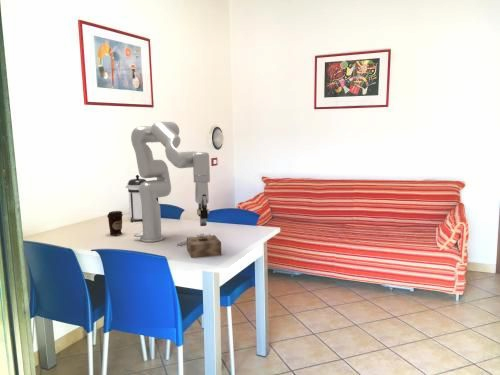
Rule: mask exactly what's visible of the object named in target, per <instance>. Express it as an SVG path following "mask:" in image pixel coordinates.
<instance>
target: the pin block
mask: <svg viewBox="0 0 500 375" xmlns="http://www.w3.org/2000/svg"><path fill="white" fill-rule="evenodd" d="M186 240H187V244H186V250H187V252H188V254H189V256H190V258H193V259H194V258H201V257H202V258H205V257H212V256H213V257H214V256H222V241H221V240H220V239H219V238H218V237H217V236H216V235H215V234H214V235H212V234H211V236H200V237H197V236H189V237H186Z"/></svg>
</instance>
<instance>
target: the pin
mask: <svg viewBox="0 0 500 375" xmlns="http://www.w3.org/2000/svg"><path fill="white" fill-rule="evenodd" d="M200 210H201V209H198V208H197V209H196V215H197V216H198V215H200V216H199V226H200V227H206V226H207V224H208V223H207V221H208V220H207V219H201V213H200ZM207 210H208V215H209V214H210V210H209V208H207Z"/></svg>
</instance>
